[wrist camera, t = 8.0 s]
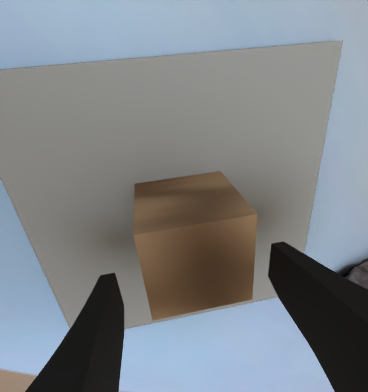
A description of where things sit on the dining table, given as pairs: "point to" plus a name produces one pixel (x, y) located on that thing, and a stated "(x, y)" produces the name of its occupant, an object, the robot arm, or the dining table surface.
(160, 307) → the walnut cube
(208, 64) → the grey mat
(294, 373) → the dining table surface
